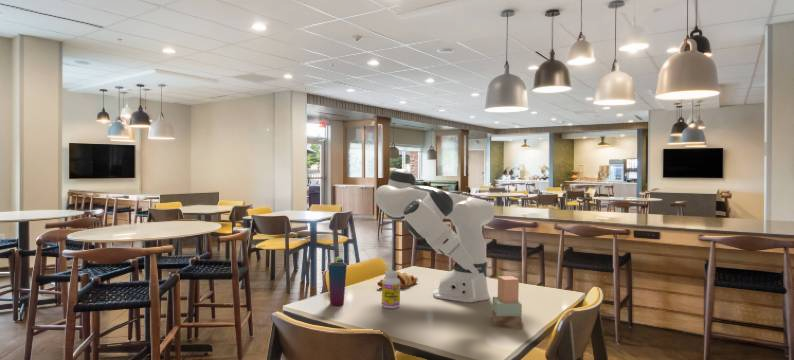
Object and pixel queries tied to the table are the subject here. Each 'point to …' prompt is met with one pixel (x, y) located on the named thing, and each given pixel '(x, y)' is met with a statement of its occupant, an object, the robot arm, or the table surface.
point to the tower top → (506, 308)
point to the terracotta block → (508, 289)
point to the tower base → (506, 321)
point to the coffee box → (338, 259)
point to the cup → (337, 282)
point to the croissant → (403, 280)
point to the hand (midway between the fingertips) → (472, 270)
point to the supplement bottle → (391, 290)
